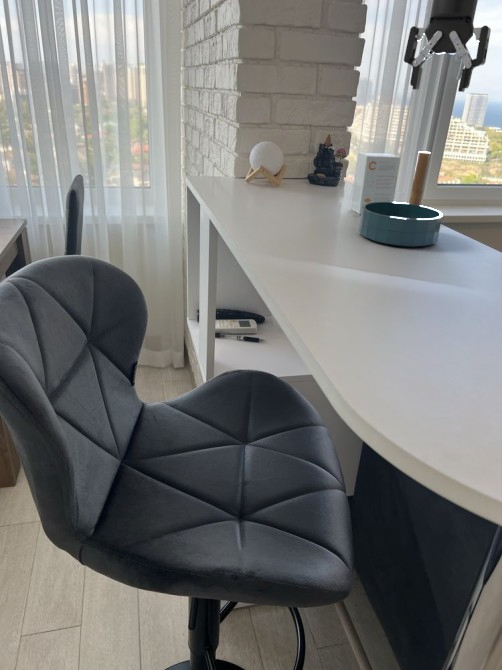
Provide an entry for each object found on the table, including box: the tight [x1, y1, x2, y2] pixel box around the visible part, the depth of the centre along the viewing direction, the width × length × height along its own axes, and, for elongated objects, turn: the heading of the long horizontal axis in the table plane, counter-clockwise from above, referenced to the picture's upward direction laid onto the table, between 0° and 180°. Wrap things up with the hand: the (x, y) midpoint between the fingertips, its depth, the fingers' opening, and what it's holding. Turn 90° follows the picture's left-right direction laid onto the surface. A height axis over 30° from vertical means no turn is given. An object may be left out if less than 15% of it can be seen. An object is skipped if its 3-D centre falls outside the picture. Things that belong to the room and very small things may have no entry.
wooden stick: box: [408, 150, 431, 206], centre depth 108 cm, size 2×2×15 cm
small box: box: [350, 152, 401, 215], centre depth 117 cm, size 8×6×13 cm
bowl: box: [358, 201, 444, 248], centre depth 99 cm, size 15×15×6 cm
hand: (437, 90), depth 96 cm, fingers open, 8 cm apart
